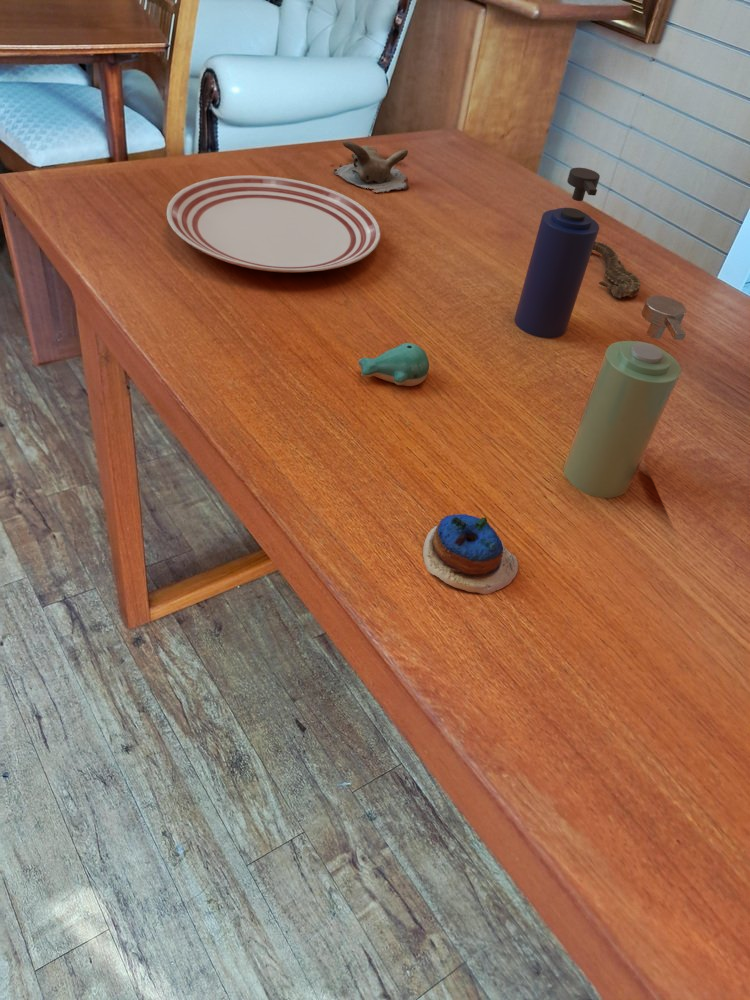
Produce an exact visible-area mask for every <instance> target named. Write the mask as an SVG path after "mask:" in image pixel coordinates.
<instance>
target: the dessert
mask: <svg viewBox="0 0 750 1000" xmlns="http://www.w3.org/2000/svg"><path fill="white" fill-rule="evenodd" d="M509 549H511V545H510V546H509ZM422 557H423V562H424V566H425V568H426V570H427V572H428V573H429V574H431V575H433V576H436V577H437V578H438V579H439V580H441V581H442V582H444V583H445V584H448V585H449V586H451V587H453V588H456V589H459V590H463V591H466V592H470V593H477V594H480V595H490V594H492V593H495V592H497V591H499V590H502V589H503V588H505V587H507V586H509V584H511V582H513V580H514V579H515V578H516V576H517V573H518V571H519V561H518V558H517V557H516V555H514V554H513V553H512V552H510V551H509V550H508V548H507V547H506V546H505V544H504V542H503V540H502V539H501V538H500V536H499V535H498V534H497V533H496V531H495V529H494V528H493V527H491V525H490V523H489V522H488V519H487V517H484V516H483V517H481V518H479V517H477V516H474V515H469V514H467V513H459V514H455V513H453V514H449V515H446V516H444V517H442V518H440V521H439V524H435V526H434V527H433V528H431V529H430V530H429V532H428V533H427V535H426V537H425V540H424V542H423V549H422Z"/></svg>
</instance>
